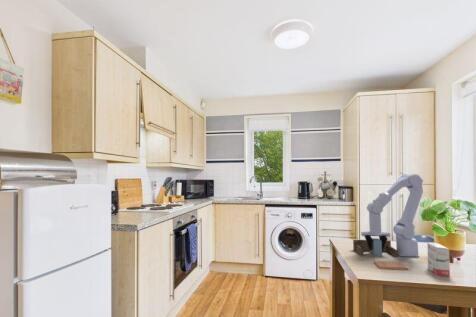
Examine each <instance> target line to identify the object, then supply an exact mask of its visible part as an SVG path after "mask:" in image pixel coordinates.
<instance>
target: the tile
mask: <svg viewBox="0 0 476 317" xmlns="http://www.w3.org/2000/svg"><path fill="white" fill-rule="evenodd" d="M372 263H373V264H374V265H375V266H376V267H378V268H379V269H381V270H402V271H403V270H406V271H408V270H409V267H407V266H406V265H405V264H403V263H402V262H401V261H396V260H395V261H393V260H373V262H372Z"/></svg>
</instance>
